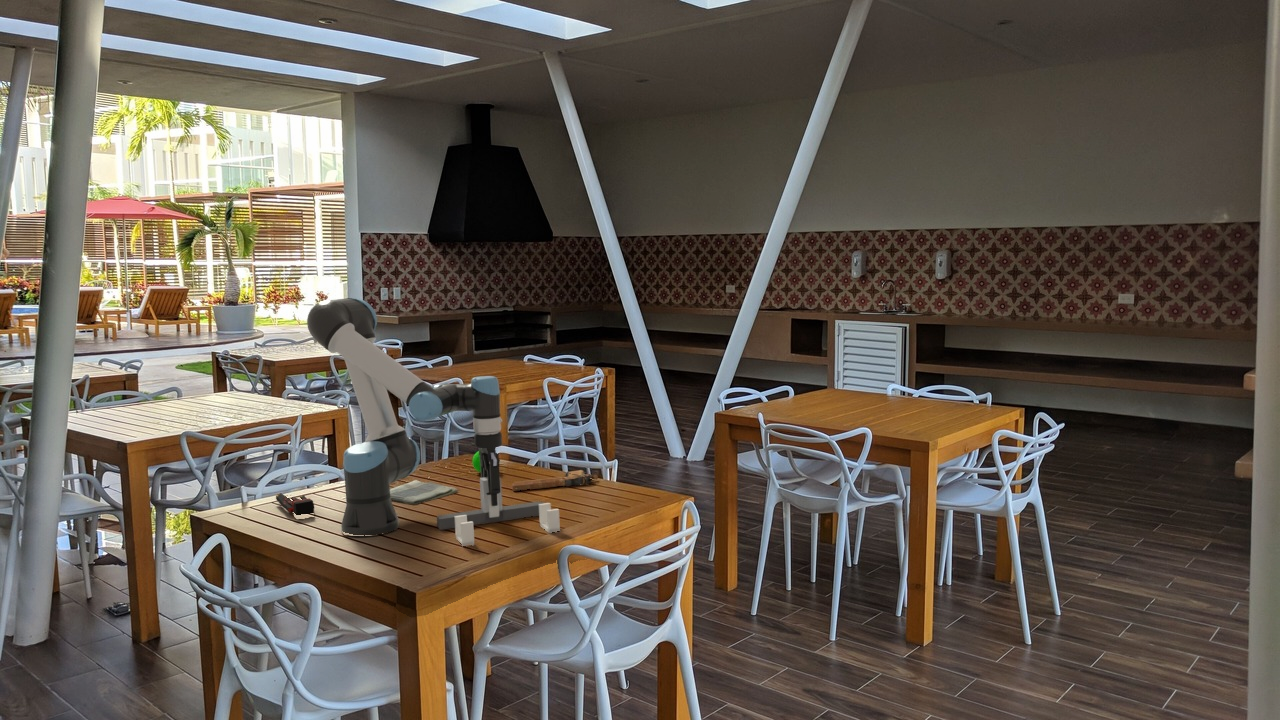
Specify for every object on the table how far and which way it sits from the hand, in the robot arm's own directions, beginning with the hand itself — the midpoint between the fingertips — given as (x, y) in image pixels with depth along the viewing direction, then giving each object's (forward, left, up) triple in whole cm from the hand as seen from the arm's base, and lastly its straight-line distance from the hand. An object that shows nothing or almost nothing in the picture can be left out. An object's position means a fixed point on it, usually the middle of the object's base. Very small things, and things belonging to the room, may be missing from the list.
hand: (492, 514), depth 260 cm
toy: (-49, +46, -2) cm, 67 cm away
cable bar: (0, 0, -2) cm, 2 cm away
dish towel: (-13, +42, -3) cm, 44 cm away
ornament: (+13, +61, -2) cm, 62 cm away
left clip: (-11, -16, -2) cm, 20 cm away
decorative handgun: (+29, +33, -3) cm, 44 cm away
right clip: (+12, -16, -2) cm, 20 cm away
